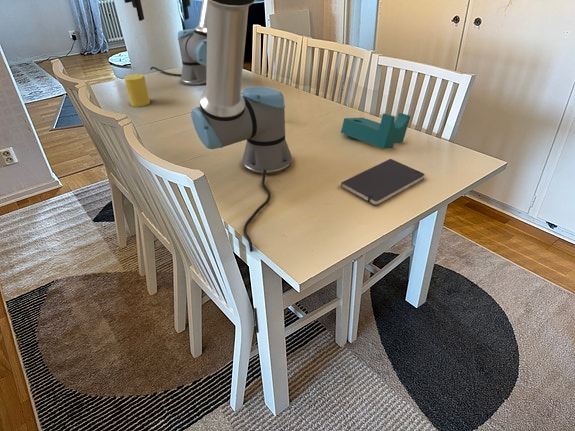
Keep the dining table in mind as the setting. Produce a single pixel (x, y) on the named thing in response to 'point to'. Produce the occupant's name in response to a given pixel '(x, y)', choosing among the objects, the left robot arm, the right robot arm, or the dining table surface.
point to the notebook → (382, 181)
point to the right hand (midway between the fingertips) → (164, 19)
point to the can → (137, 89)
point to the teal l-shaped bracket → (377, 130)
